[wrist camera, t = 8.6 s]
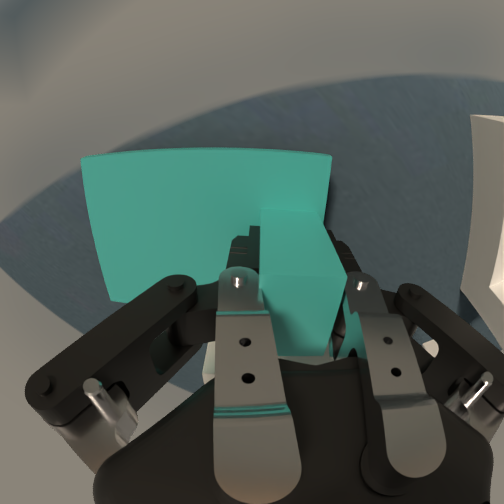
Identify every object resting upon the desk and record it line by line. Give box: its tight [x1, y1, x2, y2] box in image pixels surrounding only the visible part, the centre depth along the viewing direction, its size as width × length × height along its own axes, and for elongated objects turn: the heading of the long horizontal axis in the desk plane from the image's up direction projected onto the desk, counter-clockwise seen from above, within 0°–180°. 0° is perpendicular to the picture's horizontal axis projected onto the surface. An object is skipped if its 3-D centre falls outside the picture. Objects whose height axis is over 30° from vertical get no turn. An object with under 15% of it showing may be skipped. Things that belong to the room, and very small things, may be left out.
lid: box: [81, 148, 347, 356], centre depth 11 cm, size 12×9×6 cm
